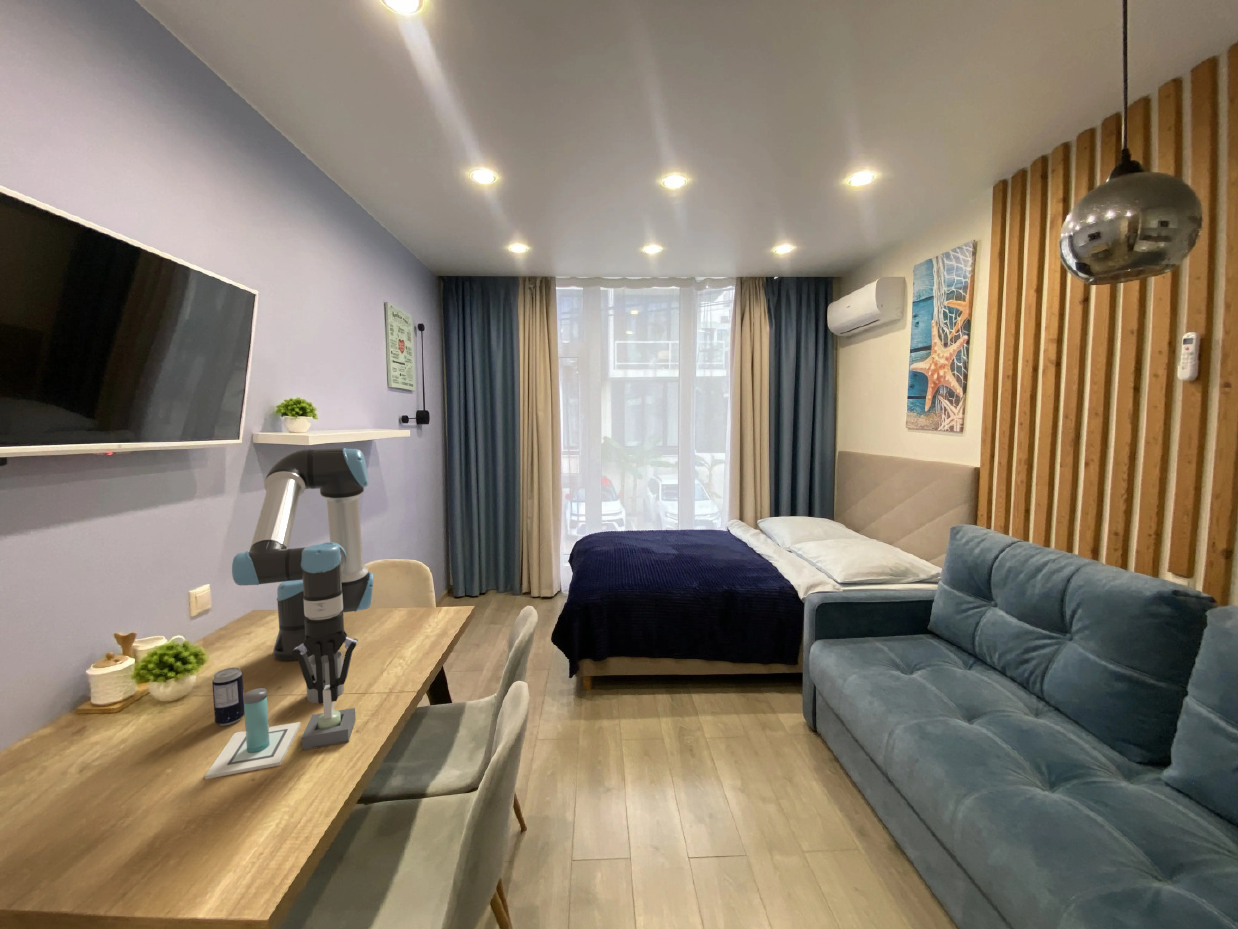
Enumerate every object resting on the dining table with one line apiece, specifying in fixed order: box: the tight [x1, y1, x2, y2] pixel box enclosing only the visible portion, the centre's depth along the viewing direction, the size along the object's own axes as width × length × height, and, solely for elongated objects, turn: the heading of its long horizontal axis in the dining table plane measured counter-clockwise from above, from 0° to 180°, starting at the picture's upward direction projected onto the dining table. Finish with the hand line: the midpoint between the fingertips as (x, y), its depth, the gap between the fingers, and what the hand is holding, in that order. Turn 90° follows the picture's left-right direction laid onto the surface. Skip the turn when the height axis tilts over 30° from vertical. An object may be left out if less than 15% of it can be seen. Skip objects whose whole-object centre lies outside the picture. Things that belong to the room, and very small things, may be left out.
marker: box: [243, 687, 270, 753], centre depth 109 cm, size 4×4×12 cm
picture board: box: [204, 721, 302, 780], centre depth 110 cm, size 15×13×1 cm
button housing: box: [301, 707, 356, 751], centre depth 115 cm, size 9×9×3 cm
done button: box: [318, 709, 341, 729], centre depth 115 cm, size 4×4×3 cm
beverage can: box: [212, 667, 245, 727], centre depth 120 cm, size 6×6×12 cm
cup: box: [305, 650, 345, 704], centre depth 132 cm, size 8×8×10 cm
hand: (329, 715), depth 115 cm, fingers closed
